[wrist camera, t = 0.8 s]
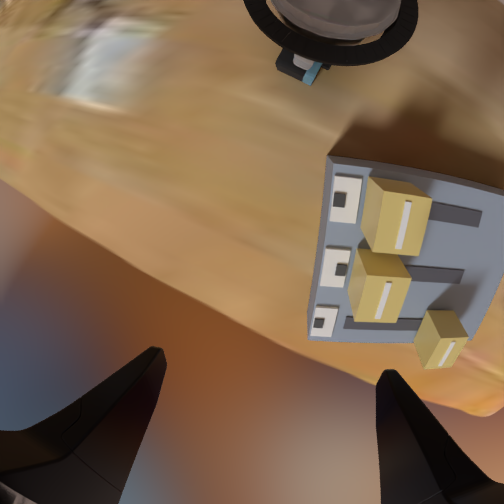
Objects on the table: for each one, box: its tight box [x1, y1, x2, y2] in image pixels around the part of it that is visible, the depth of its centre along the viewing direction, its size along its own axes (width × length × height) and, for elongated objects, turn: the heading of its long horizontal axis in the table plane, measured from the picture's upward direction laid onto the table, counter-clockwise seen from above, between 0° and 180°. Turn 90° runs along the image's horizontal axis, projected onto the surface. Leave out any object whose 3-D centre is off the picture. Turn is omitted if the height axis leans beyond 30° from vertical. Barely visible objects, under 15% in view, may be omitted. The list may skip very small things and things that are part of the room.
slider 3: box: [413, 310, 469, 369], centre depth 15 cm, size 2×3×3 cm
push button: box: [243, 0, 418, 86], centre depth 8 cm, size 7×5×10 cm
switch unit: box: [307, 155, 504, 343], centre depth 16 cm, size 14×12×3 cm
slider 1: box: [360, 176, 432, 256], centre depth 12 cm, size 2×3×3 cm
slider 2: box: [347, 248, 412, 323], centre depth 14 cm, size 2×3×3 cm
